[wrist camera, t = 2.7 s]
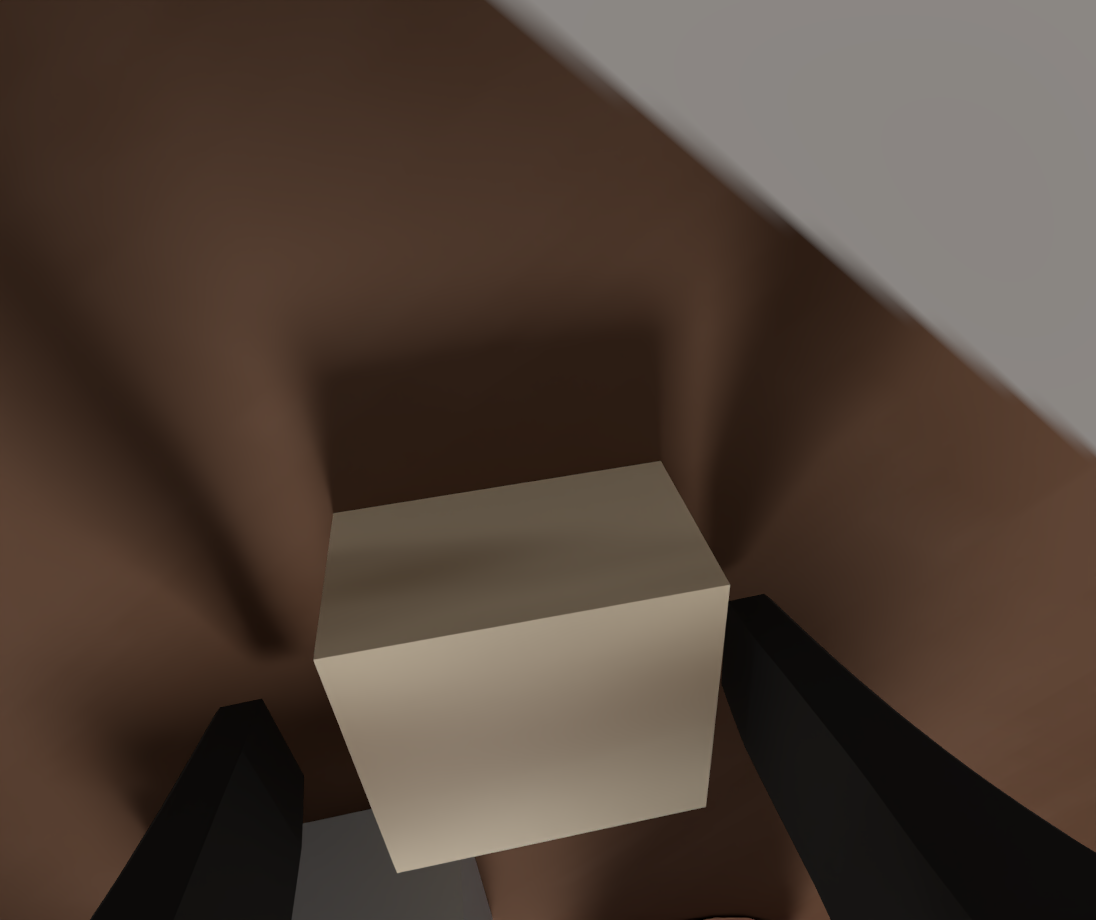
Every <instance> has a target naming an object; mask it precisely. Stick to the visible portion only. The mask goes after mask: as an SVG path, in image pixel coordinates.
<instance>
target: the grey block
mask: <svg viewBox="0 0 1096 920" xmlns="http://www.w3.org/2000/svg"><path fill="white" fill-rule="evenodd" d="M292 920H492V915H491V912H490V908H489V905H488V901H487V898H486V894H485V891H484V887H483V884H482V881H481V877H480V874H479V870H478V867H477V863H476V860H475V857H470V858H466V859H461V860H456V861H452V862H447V863H442V864H438V865H433V866H428V867H424V868H419V869H414V870H410V871H405V872H400V873H397V872H396V869H395V867H394V864H393V862H392V859H391V857H390V854H389V852H388V849H387V846H386V844H385V841H384V839H383V836H382V834H381V831H380V829H379V826H378V824H377V821H376V818H375V816H374V813H373V811H372V809H369V810H364V811H359V812H355V813H350V814H345V815H341V816H336V817H331V818H327V819H322V820H317V821H313V822H308V823H303V830H302V849H301V857H300V864H299V871H298V878H297V885H296V892H295V899H294V906H293V913H292Z"/></svg>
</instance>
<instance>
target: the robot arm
mask: <svg viewBox="0 0 1096 920" xmlns="http://www.w3.org/2000/svg"><path fill="white" fill-rule="evenodd" d="M722 687H723V690H724V693H725V695H726V698H727V701H728V704H729V706H730V709H731V712H732V715H733V717H734V720H735V723H736V725H737V728H738V730H739V733H740V736H741V738H742V741H743V743H744V746H745V748H746V750H747V752H748V754H749V756H750V758H751V760H752V762H753V764H754V766H755V768H756V770H757V772H758V774H759V776H760V778H761V780H762V782H763V784H764V786H765V788H766V790H767V792H768V794H769V796H770V798H771V800H772V802H773V804H774V806H775V808H776V810H777V812H778V814H779V816H780V818H781V820H782V822H783V824H784V826H785V828H786V830H787V832H788V834H789V835H790V837H791V839H792V841H793V843H794V845H795V847H796V849H797V851H798V853H799V855H800V857H801V859H802V861H803V863H804V865H805V867H806V869H807V871H808V873H809V875H810V877H811V879H812V881H813V883H814V885H815V887H816V889H817V891H818V893H819V895H820V897H821V900H822V902H823V904H824V906H825V908H826V910H827V913H828V915H829V917H830V919H831V920H1096V852H1094V851H1092V850H1091V849H1089V848H1087V847H1086V846H1084V845H1082V844H1081V843H1079V842H1078V841H1076V840H1074V839H1073V838H1071V837H1070V836H1068V835H1067V834H1065V833H1064V832H1062V831H1061V830H1059V829H1058V828H1056V827H1054V826H1053V825H1051V824H1050V823H1048V822H1047V821H1045V820H1044V819H1042V818H1041V817H1039V816H1038V815H1036V814H1035V813H1033V812H1032V811H1030V810H1029V809H1027V808H1026V807H1024V806H1023V805H1021V804H1020V803H1018V802H1017V801H1015V800H1014V799H1013V798H1011V797H1010V796H1008V795H1007V794H1005V793H1004V792H1002V791H1001V790H1000V789H998V788H997V787H995V786H994V785H992V784H991V783H989V782H988V781H987V780H985V779H984V778H982V777H981V776H980V775H978V774H977V773H976V772H974V771H973V770H971V769H970V768H969V767H967V766H966V765H965V764H963V763H962V762H961V761H959V760H958V759H957V758H955V757H954V756H953V755H951V754H950V753H949V752H947V751H946V750H945V749H943V748H942V747H941V746H940V745H938V744H937V743H936V742H934V741H933V740H932V739H930V738H929V737H928V736H927V735H925V734H924V733H923V732H921V731H920V730H919V729H918V728H916V727H915V726H914V725H913V724H911V723H910V722H909V721H908V720H906V719H905V718H904V717H903V716H901V715H900V714H899V713H898V712H897V711H895V710H894V709H893V708H892V707H890V706H889V705H888V704H887V703H886V702H885V701H883V700H882V699H881V698H880V697H879V696H877V695H876V694H875V693H874V692H873V691H872V690H870V689H869V688H868V687H867V686H866V685H864V684H863V683H862V682H861V681H860V680H859V679H857V678H856V677H855V676H854V675H853V674H852V673H850V672H849V671H848V670H847V669H846V668H845V667H844V666H843V665H841V664H840V663H839V662H838V661H837V660H836V659H835V658H834V657H832V656H831V655H830V654H829V653H828V652H827V651H826V650H825V649H824V648H823V647H821V646H820V645H819V644H818V643H817V642H816V641H815V640H814V639H813V638H812V637H811V636H809V635H808V634H807V633H806V632H805V631H804V630H803V629H802V628H801V627H800V626H799V625H798V624H797V623H796V622H794V621H793V620H792V619H791V618H790V617H789V616H788V615H787V614H786V613H785V612H784V611H783V610H782V609H781V608H780V607H779V606H778V605H777V604H776V603H774V602H773V601H772V600H771V599H770V598H769V597H768V596H766V595H765V594H761V595H757V596H752V597H747V598H742V599H738V600H733V601H728V609H727V618H726V628H725V638H724V653H723V669H722ZM303 798H304V775H303V773H302V771H301V770H300V768H299V766H298V764H297V762H296V760H295V759H294V757H293V755H292V753H291V751H290V749H289V748H288V746H287V744H286V742H285V740H284V738H283V736H282V735H281V733H280V731H279V729H278V727H277V725H276V724H275V722H274V720H273V718H272V716H271V714H270V713H269V711H268V709H267V707H266V705H265V703H264V701H263V700H262V699H258V700H254V701H249V702H244V703H239V704H234V705H230V706H225V707H220V709H219V710H218V711H217V712H216V714H215V715H214V717H213V719H212V721H211V722H210V724H209V726H208V727H207V729H206V731H205V733H204V734H203V736H202V738H201V740H200V741H199V743H198V745H197V747H196V748H195V750H194V752H193V754H192V755H191V757H190V759H189V761H188V762H187V764H186V766H185V768H184V769H183V771H182V773H181V774H180V776H179V778H178V780H177V781H176V783H175V785H174V786H173V788H172V790H171V792H170V793H169V795H168V797H167V798H166V800H165V802H164V803H163V805H162V807H161V809H160V810H159V812H158V814H157V815H156V817H155V818H154V820H153V822H152V823H151V825H150V827H149V828H148V830H147V831H146V833H145V835H144V836H143V838H142V840H141V841H140V843H139V844H138V846H137V848H136V849H135V851H134V853H133V854H132V856H131V857H130V859H129V861H128V862H127V864H126V866H125V867H124V869H123V870H122V872H121V874H120V875H119V877H118V878H117V880H116V881H115V883H114V884H113V886H112V888H111V889H110V891H109V892H108V894H107V895H106V897H105V898H104V900H103V901H102V903H101V904H100V906H99V907H98V909H97V910H96V912H95V913H94V915H93V916H92V918H91V919H90V920H292V913H293V906H294V899H295V892H296V885H297V878H298V871H299V864H300V857H301V849H302V830H303Z"/></svg>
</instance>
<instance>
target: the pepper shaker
mask: <svg viewBox="0 0 1096 920" xmlns="http://www.w3.org/2000/svg"><path fill="white" fill-rule="evenodd" d="M705 920H754V919H750V918H711V919H705Z"/></svg>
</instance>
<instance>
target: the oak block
mask: <svg viewBox="0 0 1096 920" xmlns="http://www.w3.org/2000/svg"><path fill="white" fill-rule="evenodd" d="M729 591H730V583H729V582H728V580H727V578H726V576H725V575H724V573H723V571H722V569H721V567H720V566H719V564H718V562H717V560H716V558H715V557H714V555H713V553H712V551H711V550H710V548H709V546H708V544H707V542H706V541H705V539H704V537H703V535H702V534H701V532H700V530H699V528H698V526H697V525H696V523H695V521H694V519H693V518H692V516H691V514H690V512H689V510H688V509H687V507H686V505H685V503H684V501H683V500H682V498H681V496H680V494H679V493H678V491H677V489H676V487H675V485H674V484H673V482H672V480H671V478H670V477H669V475H668V473H667V471H666V469H665V468H664V466H663V464H662V462H661V461H657V462H651V463H644V464H638V465H632V466H626V467H619V468H613V469H607V470H601V471H594V472H588V473H582V474H576V475H570V476H563V477H557V478H551V479H545V480H538V481H532V482H526V483H520V484H513V485H507V486H501V487H495V488H488V489H482V490H476V491H470V492H463V493H457V494H451V495H445V496H438V497H432V498H426V499H420V500H413V501H407V502H401V503H395V504H388V505H382V506H376V507H370V508H363V509H357V510H351V511H345V512H338V513H333V519H332V526H331V534H330V541H329V548H328V556H327V563H326V570H325V577H324V585H323V592H322V599H321V607H320V614H319V621H318V629H317V636H316V643H315V651H314V658H313V660H314V663H315V666H316V668H317V671H318V673H319V676H320V678H321V681H322V683H323V686H324V688H325V691H326V694H327V696H328V699H329V701H330V704H331V706H332V709H333V711H334V714H335V717H336V719H337V722H338V724H339V727H340V729H341V732H342V734H343V737H344V739H345V742H346V745H347V747H348V750H349V752H350V755H351V757H352V760H353V762H354V765H355V767H356V770H357V773H358V775H359V778H360V780H361V783H362V785H363V788H364V790H365V793H366V796H367V798H368V801H369V803H370V806H371V808H372V811H373V813H374V816H375V818H376V821H377V824H378V826H379V829H380V831H381V834H382V836H383V839H384V841H385V844H386V846H387V849H388V852H389V854H390V857H391V859H392V862H393V864H394V867H395V869H396V872H397V873H400V872H405V871H410V870H414V869H419V868H424V867H428V866H433V865H438V864H442V863H447V862H452V861H456V860H461V859H466V858H470V857H475V856H480V855H484V854H489V853H494V852H498V851H503V850H508V849H512V848H517V847H522V846H526V845H531V844H536V843H540V842H545V841H550V840H554V839H559V838H563V837H568V836H573V835H577V834H582V833H587V832H591V831H596V830H601V829H605V828H610V827H615V826H619V825H624V824H629V823H633V822H638V821H643V820H647V819H652V818H657V817H661V816H666V815H671V814H675V813H680V812H685V811H689V810H694V809H699V808H703V807H706V802H707V793H708V784H709V774H710V765H711V756H712V747H713V738H714V728H715V719H716V710H717V701H718V692H719V683H720V673H721V664H722V655H723V646H724V637H725V628H726V618H727V609H728V600H729Z"/></svg>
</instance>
